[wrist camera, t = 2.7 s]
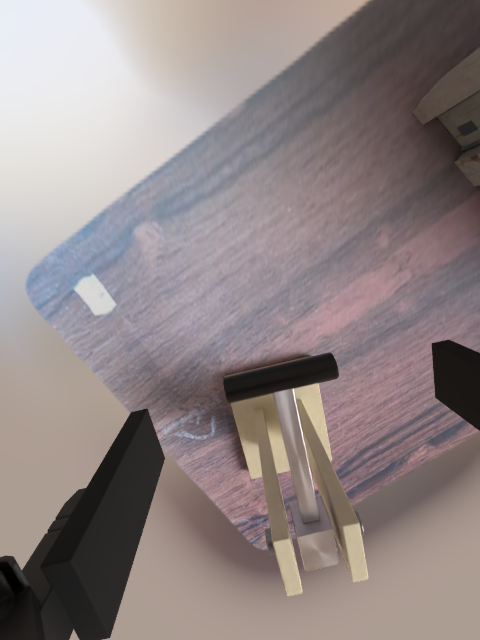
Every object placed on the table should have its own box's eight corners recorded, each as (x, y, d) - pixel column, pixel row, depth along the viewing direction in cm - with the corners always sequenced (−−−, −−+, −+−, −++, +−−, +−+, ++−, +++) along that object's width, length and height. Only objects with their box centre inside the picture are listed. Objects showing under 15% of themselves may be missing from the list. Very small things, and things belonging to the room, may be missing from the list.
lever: (223, 369, 17) (222, 389, 15) (324, 345, 17) (340, 361, 14) (269, 540, 20) (274, 578, 18) (354, 521, 20) (371, 557, 18)
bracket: (224, 375, 30) (221, 496, 15) (310, 355, 30) (388, 458, 15) (250, 471, 33) (267, 646, 18) (329, 453, 33) (407, 616, 18)
